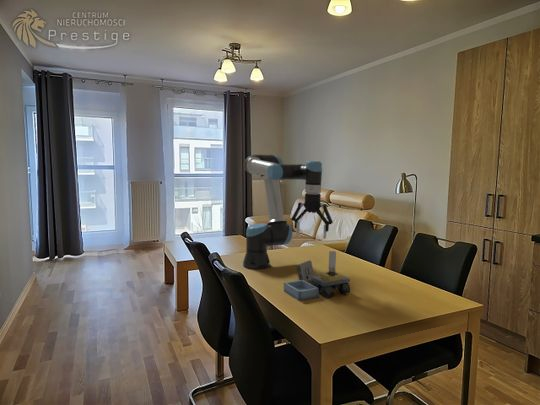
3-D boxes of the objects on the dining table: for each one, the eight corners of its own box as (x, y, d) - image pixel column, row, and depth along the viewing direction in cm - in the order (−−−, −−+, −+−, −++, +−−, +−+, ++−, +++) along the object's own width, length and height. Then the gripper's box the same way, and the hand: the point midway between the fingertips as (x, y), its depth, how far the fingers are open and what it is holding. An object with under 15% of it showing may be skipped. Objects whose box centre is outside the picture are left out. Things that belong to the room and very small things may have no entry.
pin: (327, 277, 162) (327, 251, 161) (332, 276, 164) (333, 250, 163) (331, 279, 160) (332, 253, 158) (336, 278, 161) (337, 252, 160)
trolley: (308, 290, 166) (309, 271, 165) (332, 285, 173) (333, 267, 172) (326, 300, 154) (327, 279, 153) (351, 294, 161) (352, 275, 160)
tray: (283, 291, 164) (283, 282, 164) (302, 288, 169) (302, 279, 168) (299, 301, 153) (299, 291, 152) (318, 297, 158) (318, 288, 157)
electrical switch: (304, 283, 176) (303, 264, 175) (296, 282, 179) (295, 263, 179) (315, 278, 183) (314, 260, 183) (306, 277, 186) (305, 259, 186)
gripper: (285, 192, 175) (284, 235, 178) (337, 195, 166) (334, 240, 169) (290, 191, 182) (289, 232, 185) (340, 194, 173) (337, 237, 176)
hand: (311, 236), depth 177 cm, fingers open, 13 cm apart
